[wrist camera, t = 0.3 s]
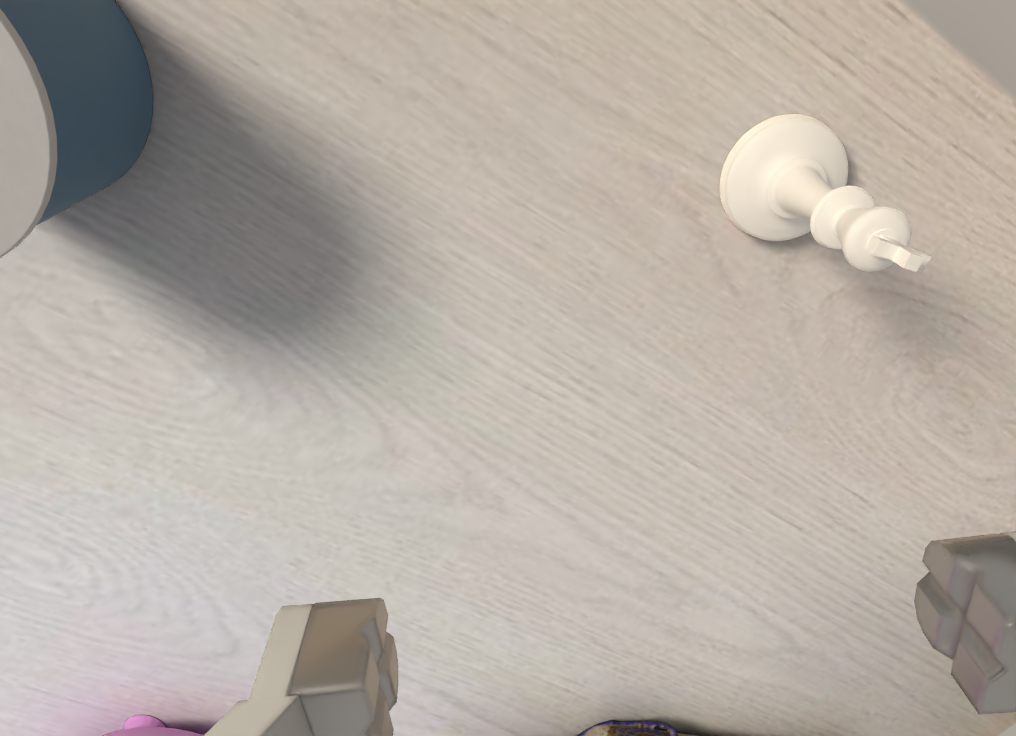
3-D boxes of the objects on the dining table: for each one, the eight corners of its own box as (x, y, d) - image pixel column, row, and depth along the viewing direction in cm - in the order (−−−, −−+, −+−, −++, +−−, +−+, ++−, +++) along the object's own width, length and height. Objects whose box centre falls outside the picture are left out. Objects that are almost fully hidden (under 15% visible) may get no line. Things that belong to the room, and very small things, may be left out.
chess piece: (805, 252, 31) (938, 361, 22) (698, 218, 30) (793, 317, 21) (866, 136, 28) (1041, 205, 20) (753, 96, 28) (884, 148, 19)
